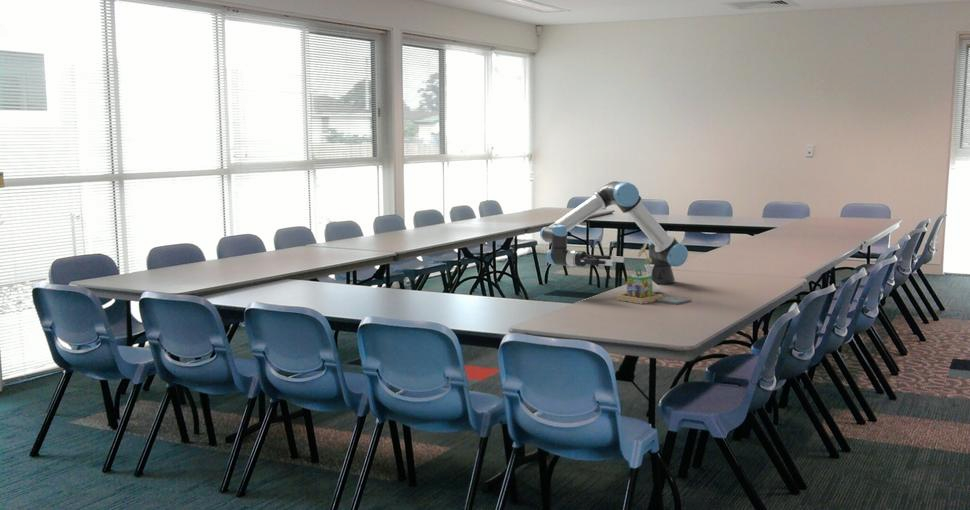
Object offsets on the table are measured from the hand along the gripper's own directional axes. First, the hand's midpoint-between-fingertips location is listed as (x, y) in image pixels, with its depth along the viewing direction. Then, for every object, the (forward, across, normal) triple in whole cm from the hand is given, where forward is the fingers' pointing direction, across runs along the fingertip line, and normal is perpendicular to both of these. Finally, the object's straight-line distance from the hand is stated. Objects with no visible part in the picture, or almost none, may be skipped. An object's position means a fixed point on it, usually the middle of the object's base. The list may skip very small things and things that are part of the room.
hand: (618, 261), depth 435 cm
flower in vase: (+7, -21, -18) cm, 29 cm away
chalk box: (+11, -1, -18) cm, 21 cm away
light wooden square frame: (+11, -1, -18) cm, 21 cm away
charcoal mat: (+26, -4, -18) cm, 32 cm away
